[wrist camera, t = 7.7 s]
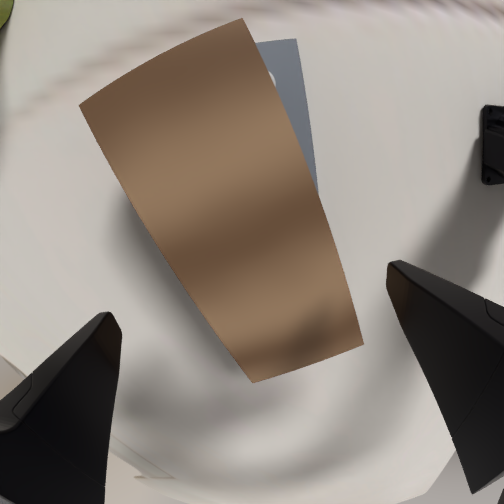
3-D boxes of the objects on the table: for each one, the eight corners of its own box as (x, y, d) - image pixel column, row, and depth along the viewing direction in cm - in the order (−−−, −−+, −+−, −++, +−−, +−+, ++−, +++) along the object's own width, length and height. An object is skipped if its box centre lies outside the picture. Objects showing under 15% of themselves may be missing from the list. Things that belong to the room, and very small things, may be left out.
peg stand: (141, 71, 15) (110, 66, 11) (293, 41, 15) (313, 25, 11) (204, 304, 24) (200, 352, 19) (322, 283, 23) (340, 328, 19)
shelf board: (348, 309, 18) (363, 344, 16) (249, 346, 19) (252, 383, 17) (240, 33, 11) (242, 17, 8) (107, 100, 12) (78, 105, 9)
